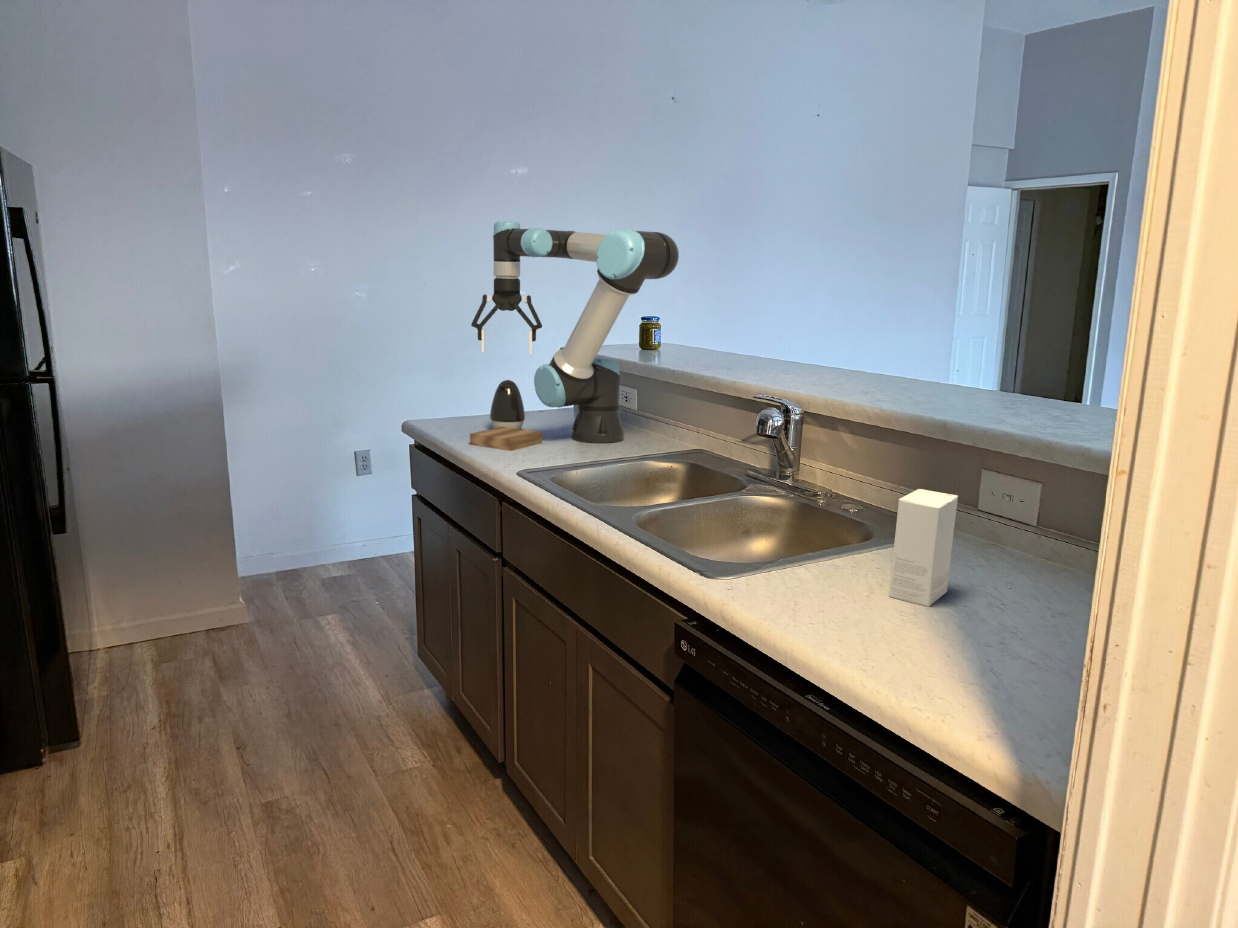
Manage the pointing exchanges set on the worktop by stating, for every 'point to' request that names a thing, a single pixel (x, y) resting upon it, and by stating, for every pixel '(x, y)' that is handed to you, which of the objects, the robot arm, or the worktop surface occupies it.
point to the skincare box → (923, 546)
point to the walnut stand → (506, 438)
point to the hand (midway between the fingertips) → (506, 352)
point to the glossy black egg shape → (507, 406)
